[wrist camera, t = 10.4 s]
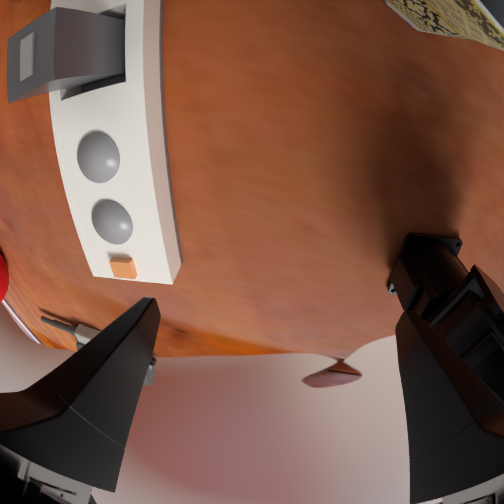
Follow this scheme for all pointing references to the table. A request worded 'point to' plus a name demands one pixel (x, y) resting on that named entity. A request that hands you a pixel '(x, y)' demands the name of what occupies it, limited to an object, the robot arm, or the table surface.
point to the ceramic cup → (455, 18)
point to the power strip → (121, 154)
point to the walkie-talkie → (87, 334)
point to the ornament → (3, 278)
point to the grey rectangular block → (64, 52)
